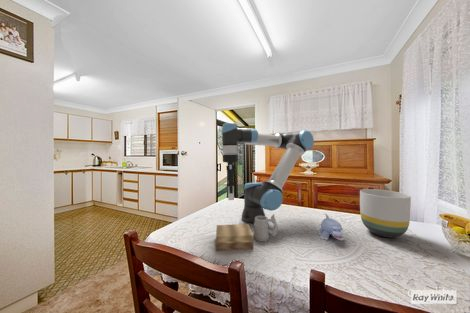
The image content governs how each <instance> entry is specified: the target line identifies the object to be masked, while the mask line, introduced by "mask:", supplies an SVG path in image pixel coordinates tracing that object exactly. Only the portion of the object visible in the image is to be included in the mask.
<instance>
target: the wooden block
mask: <svg viewBox="0 0 470 313" xmlns="http://www.w3.org/2000/svg"><path fill="white" fill-rule="evenodd" d="M249 224H250V223H240V224H239V223H238V224H217V225H216V230H215V231H216V234H215V244H216V245H215V247H216V248H215V251H217V252H218V251H235V250H237V251H238V250H252V249H254V234H253V232H252V229H251V227H250V225H249Z"/></svg>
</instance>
